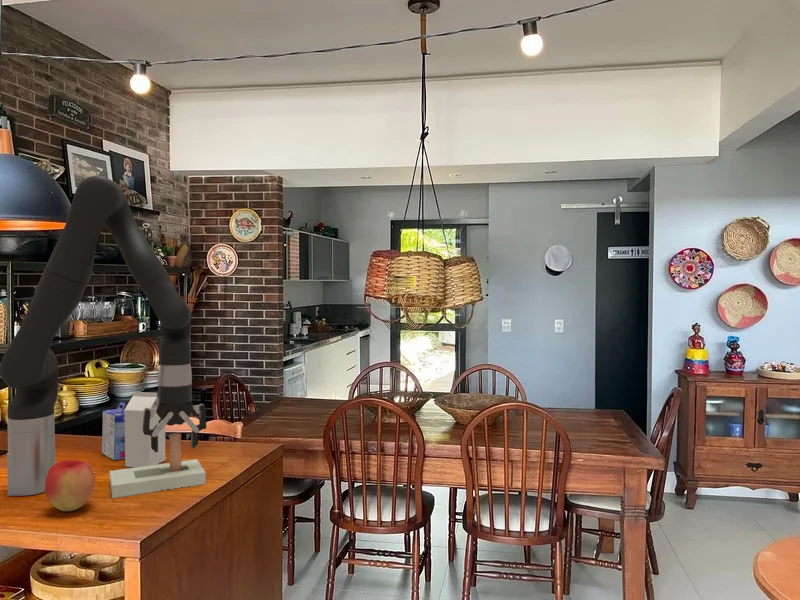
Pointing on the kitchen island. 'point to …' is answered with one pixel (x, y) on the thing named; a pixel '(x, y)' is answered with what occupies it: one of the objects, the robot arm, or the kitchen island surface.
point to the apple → (69, 484)
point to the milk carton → (135, 440)
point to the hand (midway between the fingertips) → (174, 449)
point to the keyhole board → (155, 478)
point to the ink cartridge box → (114, 433)
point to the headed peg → (175, 452)
